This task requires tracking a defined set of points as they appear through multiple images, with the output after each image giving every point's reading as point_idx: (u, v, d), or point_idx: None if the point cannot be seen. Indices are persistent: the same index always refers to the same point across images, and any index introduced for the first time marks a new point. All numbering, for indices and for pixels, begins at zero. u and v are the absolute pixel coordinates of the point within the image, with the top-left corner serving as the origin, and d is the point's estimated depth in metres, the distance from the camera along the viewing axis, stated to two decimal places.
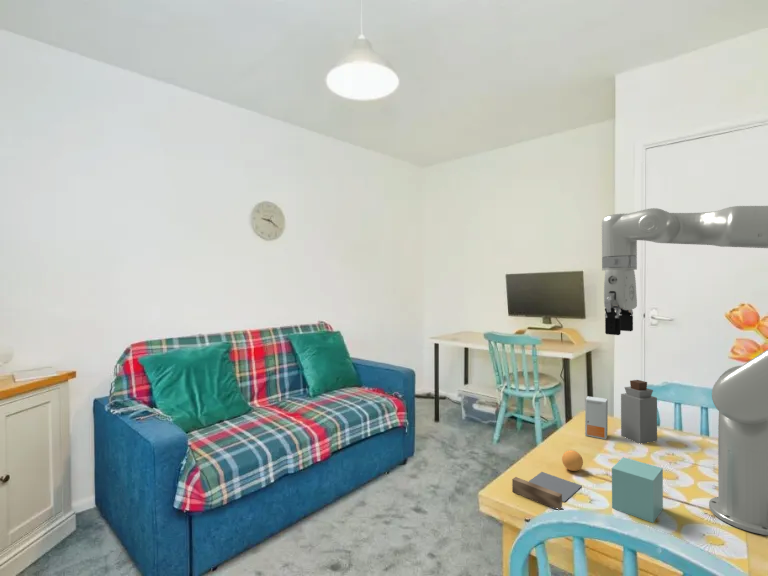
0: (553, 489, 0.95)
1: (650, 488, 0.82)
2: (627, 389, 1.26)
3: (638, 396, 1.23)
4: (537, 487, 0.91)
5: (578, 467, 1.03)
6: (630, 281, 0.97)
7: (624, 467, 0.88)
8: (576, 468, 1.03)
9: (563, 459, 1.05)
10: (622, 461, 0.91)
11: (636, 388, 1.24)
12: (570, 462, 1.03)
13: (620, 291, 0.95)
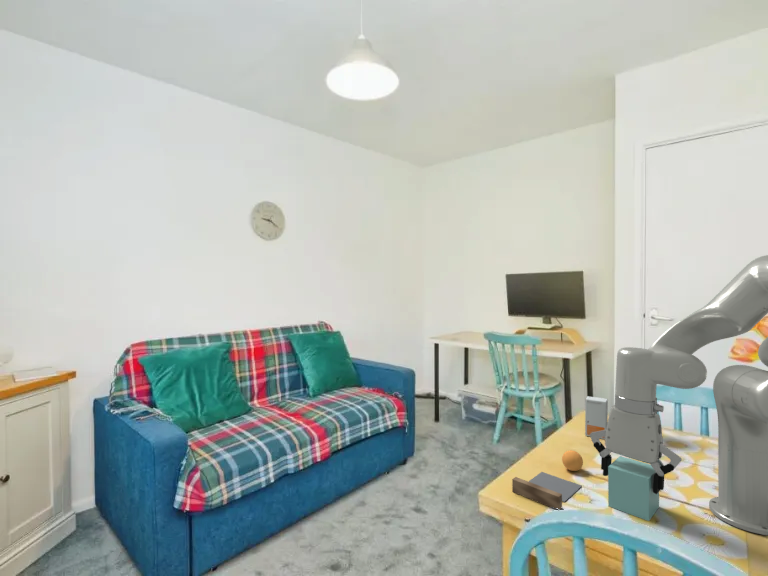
0: (553, 489, 0.95)
1: (646, 486, 0.83)
2: None
3: None
4: (537, 487, 0.91)
5: (578, 467, 1.03)
6: None
7: (620, 466, 0.88)
8: (576, 468, 1.03)
9: (563, 459, 1.05)
10: (619, 460, 0.91)
11: None
12: (570, 462, 1.03)
13: None
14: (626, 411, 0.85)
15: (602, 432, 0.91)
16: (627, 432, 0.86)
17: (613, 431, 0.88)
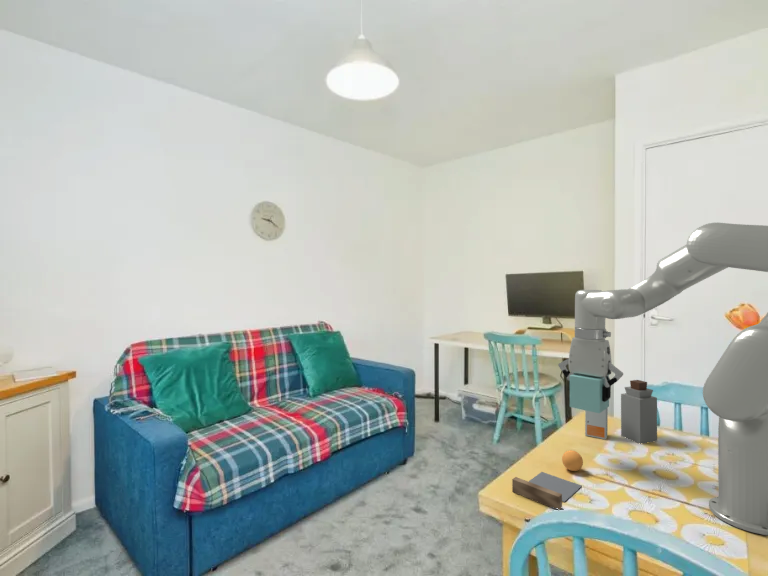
0: (553, 489, 0.95)
1: (597, 387, 1.06)
2: (627, 389, 1.26)
3: (638, 396, 1.23)
4: (537, 487, 0.91)
5: (578, 467, 1.03)
6: None
7: (579, 375, 1.12)
8: (576, 468, 1.03)
9: (563, 459, 1.05)
10: None
11: (636, 388, 1.24)
12: (570, 462, 1.03)
13: None
14: (582, 338, 1.08)
15: (567, 360, 1.15)
16: (584, 355, 1.09)
17: (574, 356, 1.12)
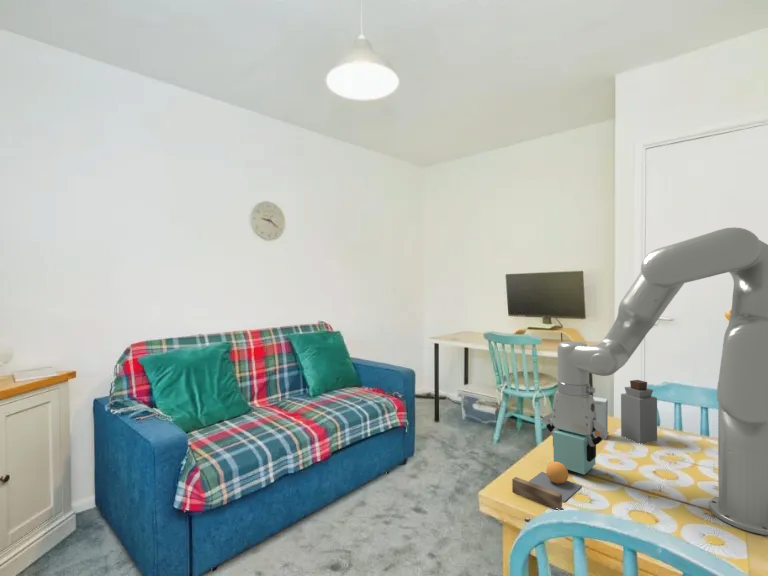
0: (553, 489, 0.95)
1: (581, 446, 1.01)
2: (627, 389, 1.26)
3: (638, 396, 1.23)
4: (537, 487, 0.91)
5: (566, 469, 0.98)
6: None
7: (563, 431, 1.06)
8: None
9: None
10: None
11: (636, 388, 1.24)
12: None
13: None
14: (565, 394, 1.03)
15: (550, 414, 1.09)
16: (568, 411, 1.04)
17: (557, 411, 1.07)
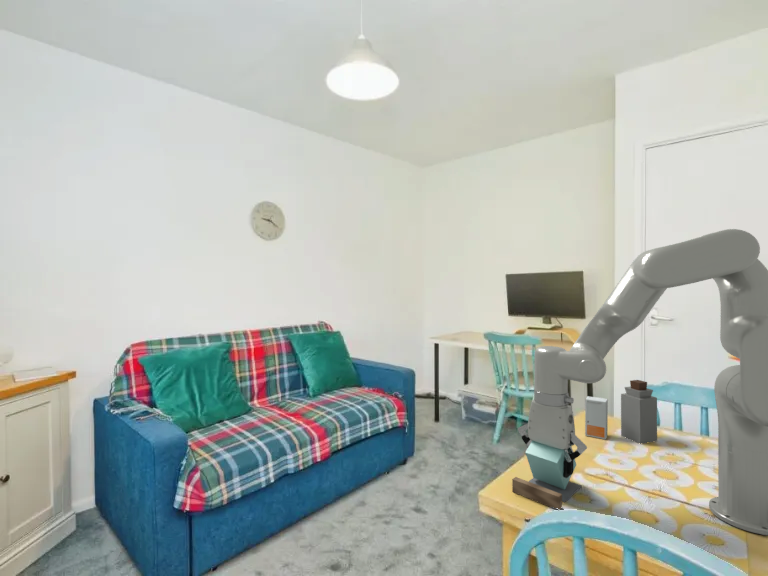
0: (553, 489, 0.95)
1: (556, 468, 0.92)
2: (627, 389, 1.26)
3: (638, 396, 1.23)
4: (537, 487, 0.91)
5: None
6: None
7: (536, 448, 0.97)
8: None
9: None
10: None
11: (636, 388, 1.24)
12: None
13: (574, 429, 0.95)
14: (541, 403, 0.95)
15: (526, 425, 1.01)
16: (544, 423, 0.96)
17: (533, 422, 0.98)
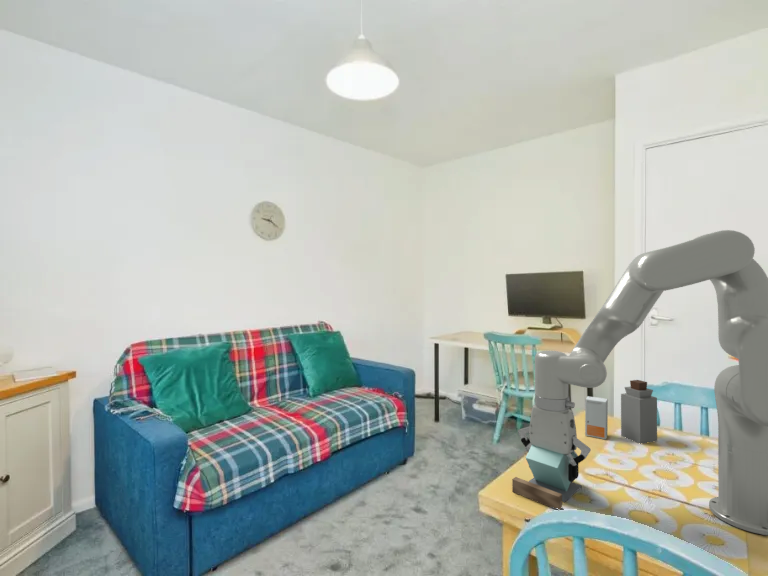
0: (553, 489, 0.95)
1: (557, 472, 0.92)
2: (627, 389, 1.26)
3: (638, 396, 1.23)
4: (537, 487, 0.91)
5: None
6: None
7: (536, 452, 0.97)
8: None
9: None
10: None
11: (636, 388, 1.24)
12: None
13: (575, 433, 0.94)
14: (542, 408, 0.95)
15: (527, 428, 1.01)
16: (545, 427, 0.95)
17: (534, 427, 0.98)
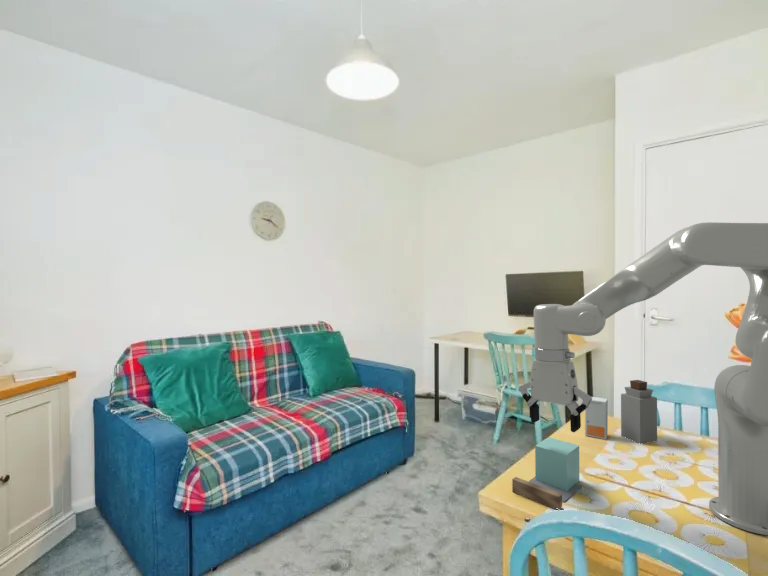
0: (553, 489, 0.95)
1: (564, 462, 0.95)
2: (627, 389, 1.26)
3: (638, 396, 1.23)
4: (537, 487, 0.91)
5: None
6: None
7: (546, 445, 1.00)
8: None
9: None
10: (546, 440, 1.03)
11: (636, 388, 1.24)
12: None
13: (576, 384, 0.94)
14: (542, 360, 0.94)
15: (528, 383, 1.01)
16: (546, 380, 0.95)
17: (535, 381, 0.98)
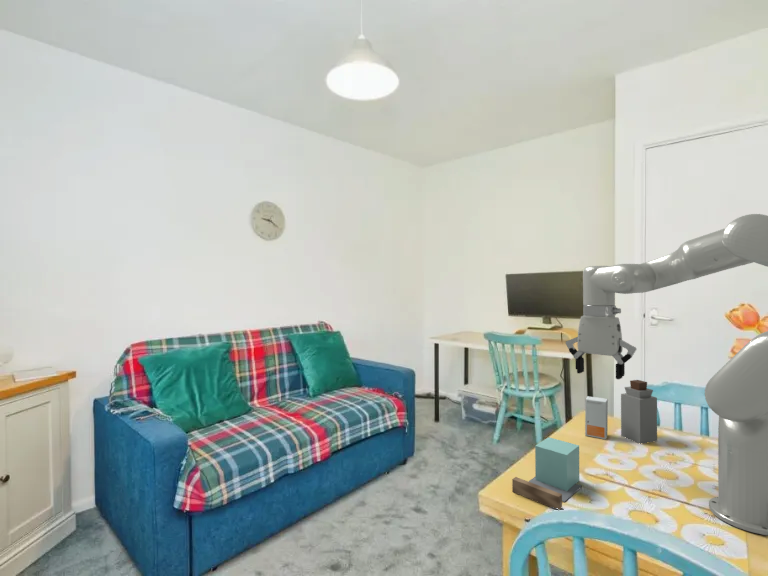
0: (553, 489, 0.95)
1: (564, 462, 0.95)
2: (627, 389, 1.26)
3: (638, 396, 1.23)
4: (537, 487, 0.91)
5: None
6: None
7: (546, 445, 1.00)
8: None
9: None
10: (546, 440, 1.03)
11: (636, 388, 1.24)
12: None
13: (621, 337, 1.05)
14: (591, 315, 1.05)
15: (575, 338, 1.11)
16: (594, 333, 1.06)
17: (583, 335, 1.08)
